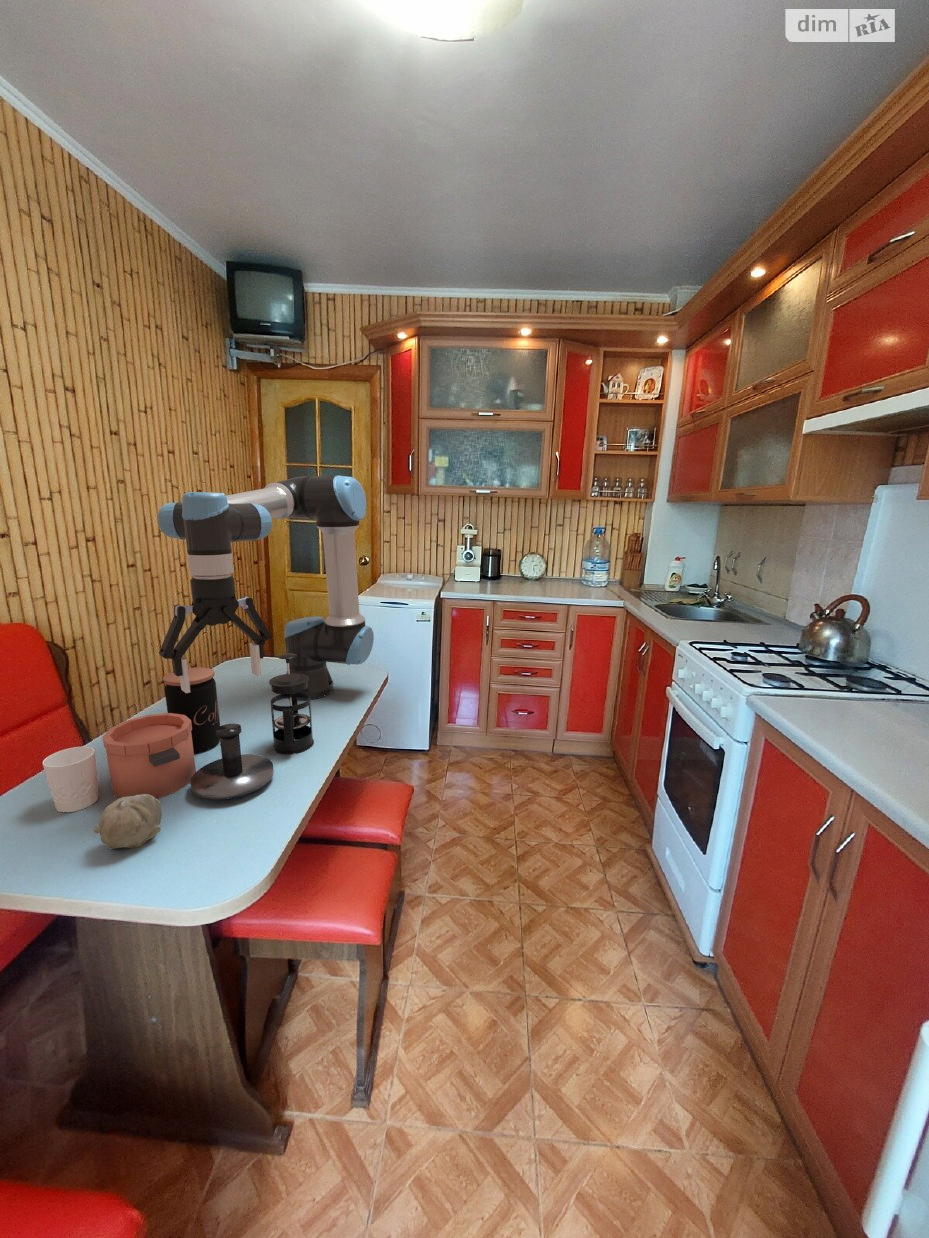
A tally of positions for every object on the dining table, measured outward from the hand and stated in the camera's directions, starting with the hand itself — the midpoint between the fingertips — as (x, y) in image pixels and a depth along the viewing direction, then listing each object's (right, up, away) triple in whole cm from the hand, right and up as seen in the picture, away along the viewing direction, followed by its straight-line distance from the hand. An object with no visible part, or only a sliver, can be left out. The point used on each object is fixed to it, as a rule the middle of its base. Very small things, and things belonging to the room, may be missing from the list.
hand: (222, 682), depth 99 cm
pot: (-17, -22, +6) cm, 28 cm away
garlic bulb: (-10, -26, -13) cm, 31 cm away
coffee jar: (-17, -18, +22) cm, 33 cm away
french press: (+7, -18, +22) cm, 29 cm away
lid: (0, -22, +5) cm, 23 cm away
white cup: (-27, -23, -2) cm, 36 cm away
